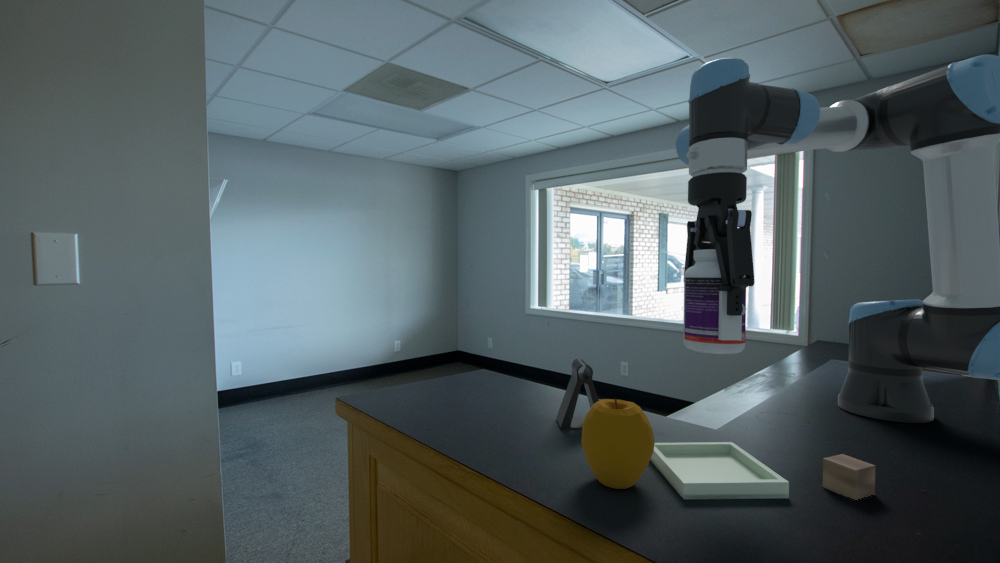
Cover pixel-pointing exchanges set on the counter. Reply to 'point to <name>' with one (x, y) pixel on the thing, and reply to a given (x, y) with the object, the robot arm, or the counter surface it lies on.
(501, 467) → the counter surface
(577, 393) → the phone stand
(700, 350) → the pill bottle
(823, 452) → the counter surface
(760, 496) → the tray
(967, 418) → the counter surface
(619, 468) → the apple
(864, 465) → the walnut block
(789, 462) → the counter surface
